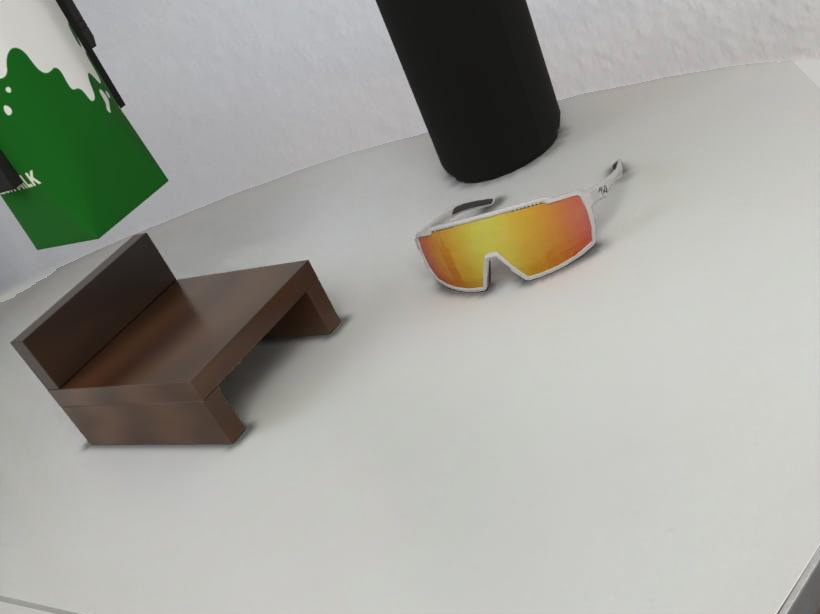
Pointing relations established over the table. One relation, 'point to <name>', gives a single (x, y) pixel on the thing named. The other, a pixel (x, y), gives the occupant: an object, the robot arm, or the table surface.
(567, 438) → the table surface
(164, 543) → the table surface
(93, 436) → the stand
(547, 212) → the sunglasses
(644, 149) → the table surface
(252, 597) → the table surface
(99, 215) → the milk carton
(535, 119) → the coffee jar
